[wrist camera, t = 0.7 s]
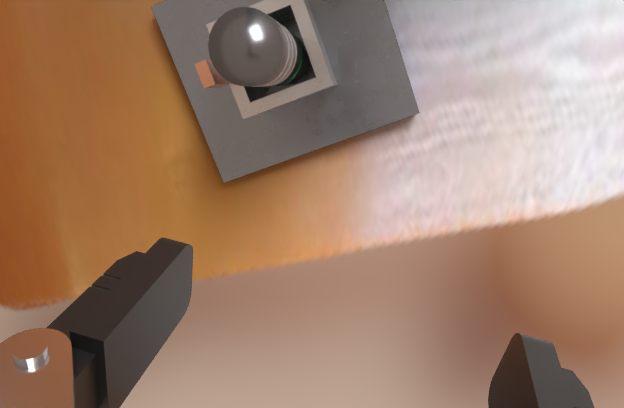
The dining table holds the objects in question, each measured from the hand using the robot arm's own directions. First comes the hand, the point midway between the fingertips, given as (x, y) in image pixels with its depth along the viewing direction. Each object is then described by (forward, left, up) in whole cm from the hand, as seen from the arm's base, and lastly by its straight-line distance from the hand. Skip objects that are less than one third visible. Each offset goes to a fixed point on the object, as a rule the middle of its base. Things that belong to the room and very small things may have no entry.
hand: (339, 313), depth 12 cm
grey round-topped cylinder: (-8, -2, -25) cm, 27 cm away
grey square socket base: (-8, -2, -27) cm, 28 cm away
